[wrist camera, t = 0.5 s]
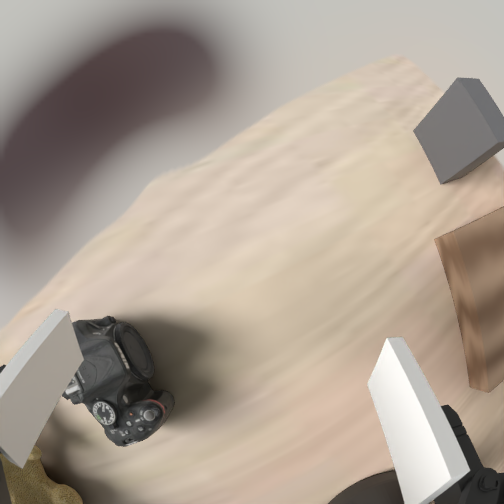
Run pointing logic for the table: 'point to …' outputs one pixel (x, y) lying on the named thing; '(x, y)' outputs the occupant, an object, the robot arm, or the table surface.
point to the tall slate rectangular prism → (461, 130)
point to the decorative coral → (35, 483)
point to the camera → (117, 381)
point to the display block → (478, 294)
